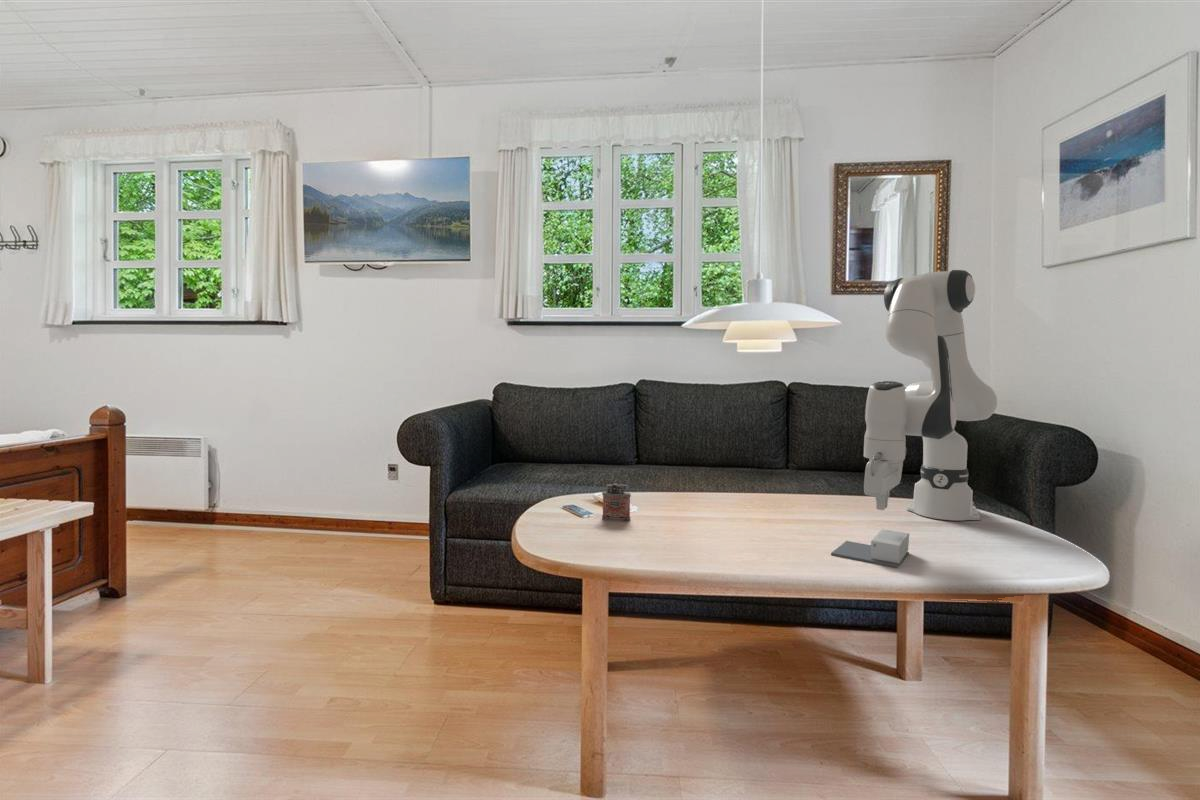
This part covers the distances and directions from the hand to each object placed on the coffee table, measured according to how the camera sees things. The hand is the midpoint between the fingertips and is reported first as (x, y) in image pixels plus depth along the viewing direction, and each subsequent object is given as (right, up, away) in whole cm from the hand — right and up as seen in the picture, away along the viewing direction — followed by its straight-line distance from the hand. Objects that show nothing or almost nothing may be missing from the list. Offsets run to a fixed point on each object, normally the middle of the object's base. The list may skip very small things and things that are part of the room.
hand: (881, 508), depth 144 cm
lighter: (-62, -8, +26) cm, 68 cm away
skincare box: (+3, -7, 0) cm, 8 cm away
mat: (-4, -10, -3) cm, 11 cm away
